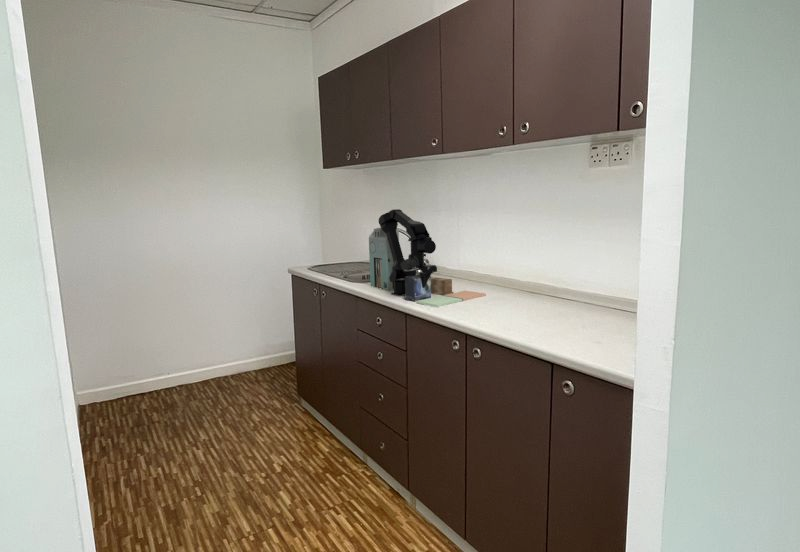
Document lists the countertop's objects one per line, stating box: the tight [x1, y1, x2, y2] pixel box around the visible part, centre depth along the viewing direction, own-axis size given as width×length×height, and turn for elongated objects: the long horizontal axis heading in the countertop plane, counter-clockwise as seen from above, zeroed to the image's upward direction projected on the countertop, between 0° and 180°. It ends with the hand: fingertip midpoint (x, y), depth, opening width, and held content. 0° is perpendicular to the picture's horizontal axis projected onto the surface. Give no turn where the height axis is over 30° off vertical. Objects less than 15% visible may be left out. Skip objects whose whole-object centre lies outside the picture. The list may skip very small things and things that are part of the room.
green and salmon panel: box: [416, 290, 486, 308], centre depth 229 cm, size 12×32×1 cm, turn 133°
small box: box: [404, 274, 432, 302], centre depth 231 cm, size 11×6×10 cm, turn 130°
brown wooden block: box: [431, 276, 455, 296], centre depth 244 cm, size 14×6×7 cm, turn 43°
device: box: [368, 227, 400, 292], centre depth 261 cm, size 16×8×30 cm, turn 34°
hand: (418, 286), depth 231 cm, fingers closed on small box, 6 cm apart
